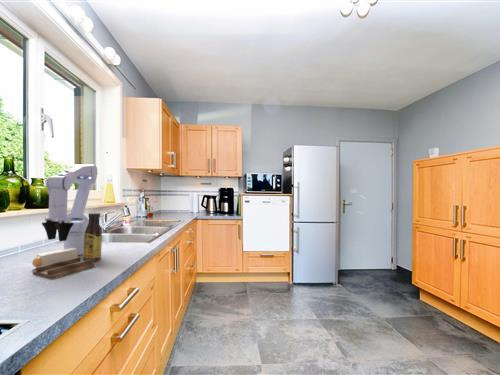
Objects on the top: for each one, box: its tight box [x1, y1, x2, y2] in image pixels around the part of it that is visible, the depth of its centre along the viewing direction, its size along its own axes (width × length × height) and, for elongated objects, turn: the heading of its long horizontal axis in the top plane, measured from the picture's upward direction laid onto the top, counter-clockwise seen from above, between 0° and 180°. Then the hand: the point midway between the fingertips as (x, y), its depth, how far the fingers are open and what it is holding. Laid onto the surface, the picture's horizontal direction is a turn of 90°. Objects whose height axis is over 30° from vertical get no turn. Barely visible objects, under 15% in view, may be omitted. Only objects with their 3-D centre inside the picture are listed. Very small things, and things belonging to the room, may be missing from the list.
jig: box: [32, 256, 96, 280], centre depth 87 cm, size 14×12×2 cm
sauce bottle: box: [82, 212, 103, 263], centre depth 99 cm, size 6×6×20 cm
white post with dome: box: [31, 248, 78, 268], centre depth 93 cm, size 14×4×5 cm, turn 155°
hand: (57, 240), depth 94 cm, fingers open, 7 cm apart
